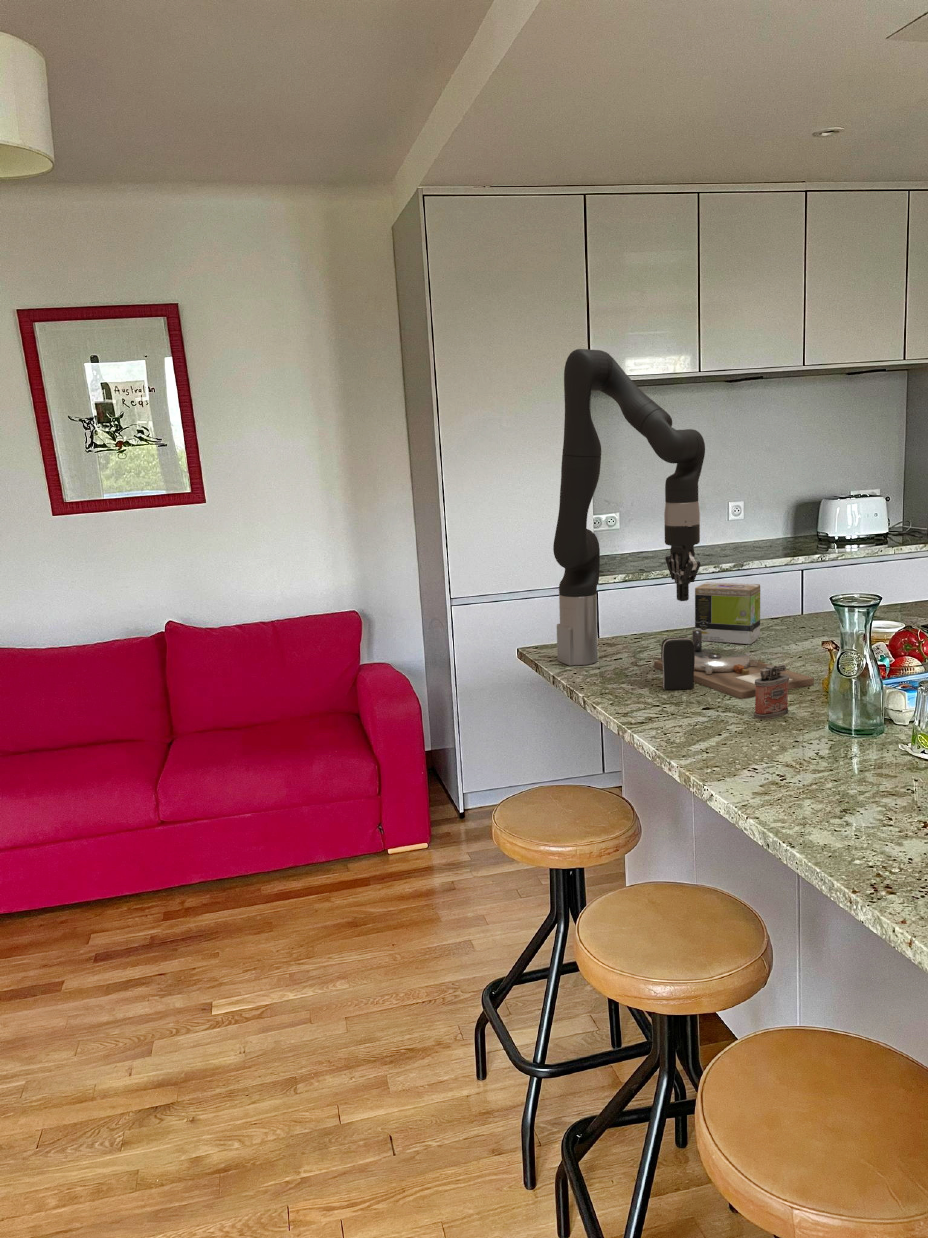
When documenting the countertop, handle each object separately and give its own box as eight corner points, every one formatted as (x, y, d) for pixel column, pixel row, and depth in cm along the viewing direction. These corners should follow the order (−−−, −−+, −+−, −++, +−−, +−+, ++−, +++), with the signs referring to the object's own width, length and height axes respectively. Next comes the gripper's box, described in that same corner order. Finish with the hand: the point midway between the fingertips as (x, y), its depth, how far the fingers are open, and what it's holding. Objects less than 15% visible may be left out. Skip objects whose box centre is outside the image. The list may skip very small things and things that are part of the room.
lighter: (762, 720, 177) (763, 671, 175) (749, 716, 180) (750, 667, 178) (792, 713, 181) (793, 664, 179) (779, 708, 184) (780, 661, 182)
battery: (690, 684, 203) (690, 635, 201) (695, 689, 199) (695, 639, 197) (659, 686, 203) (659, 636, 201) (663, 691, 199) (663, 640, 197)
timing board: (741, 699, 191) (741, 687, 190) (654, 667, 219) (654, 657, 218) (813, 684, 199) (814, 673, 198) (720, 655, 227) (720, 645, 226)
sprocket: (706, 678, 201) (706, 650, 200) (656, 660, 219) (656, 633, 217) (775, 666, 208) (775, 639, 207) (722, 649, 226) (722, 624, 224)
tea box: (760, 637, 244) (761, 583, 240) (750, 645, 235) (751, 589, 232) (705, 633, 252) (706, 580, 248) (693, 640, 243) (694, 586, 240)
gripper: (653, 521, 203) (654, 597, 207) (679, 526, 191) (680, 607, 194) (684, 519, 205) (684, 594, 208) (712, 523, 192) (712, 603, 196)
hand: (682, 600), depth 201 cm, fingers closed
